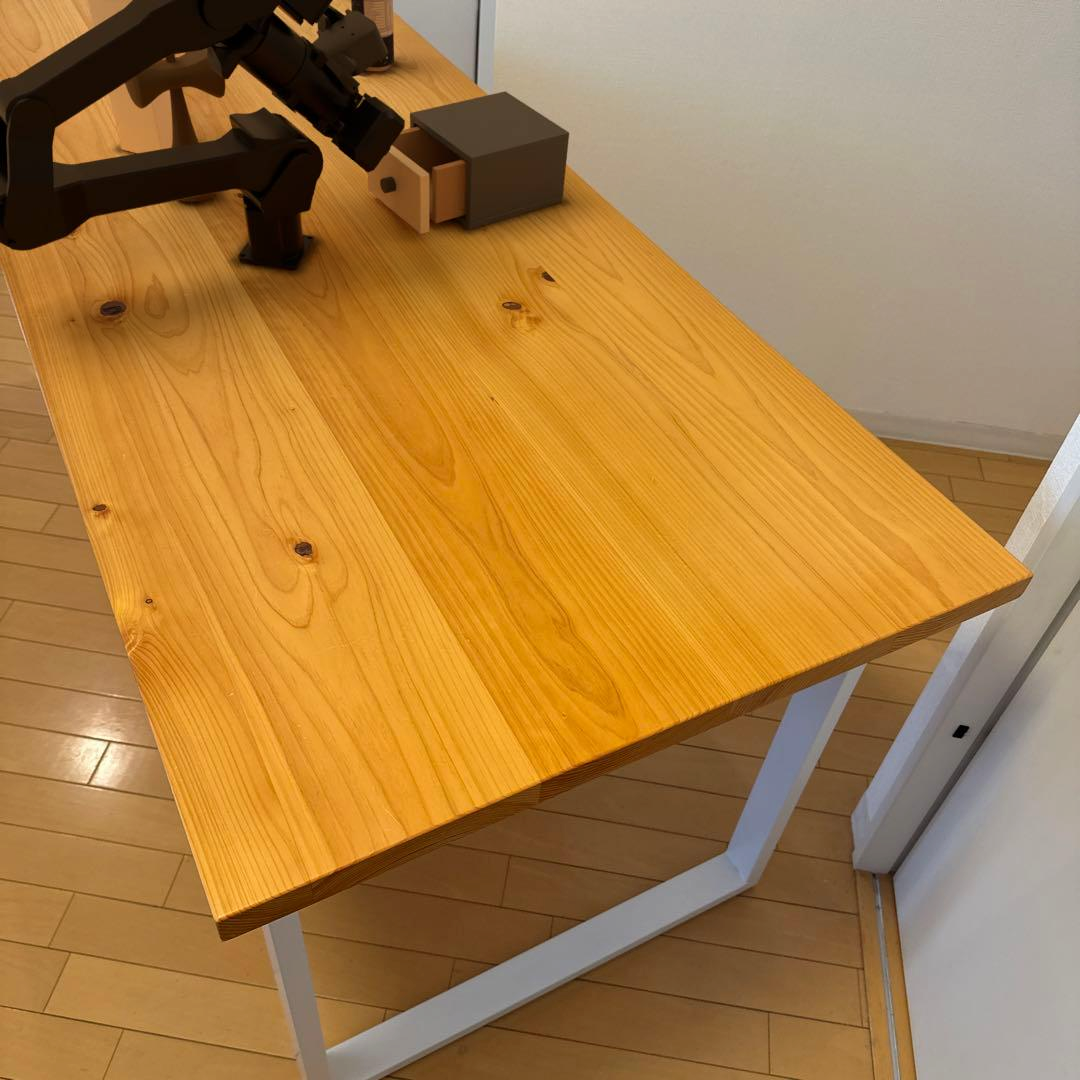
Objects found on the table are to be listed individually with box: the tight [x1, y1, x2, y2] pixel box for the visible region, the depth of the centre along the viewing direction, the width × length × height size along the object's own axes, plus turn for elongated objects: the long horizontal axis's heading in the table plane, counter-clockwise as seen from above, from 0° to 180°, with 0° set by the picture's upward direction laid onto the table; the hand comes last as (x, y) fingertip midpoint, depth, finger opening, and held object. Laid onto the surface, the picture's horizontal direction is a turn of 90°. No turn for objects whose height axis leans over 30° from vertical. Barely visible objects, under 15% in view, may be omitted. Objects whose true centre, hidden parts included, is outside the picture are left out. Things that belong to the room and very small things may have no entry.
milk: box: [87, 0, 178, 154], centre depth 115 cm, size 6×6×22 cm
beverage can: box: [350, 0, 395, 72], centre depth 141 cm, size 6×6×12 cm
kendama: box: [125, 48, 227, 203], centre depth 109 cm, size 6×10×20 cm, turn 124°
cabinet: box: [409, 91, 570, 231], centre depth 119 cm, size 14×13×9 cm
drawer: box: [367, 126, 468, 235], centre depth 115 cm, size 14×11×7 cm
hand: (386, 150), depth 109 cm, fingers closed
